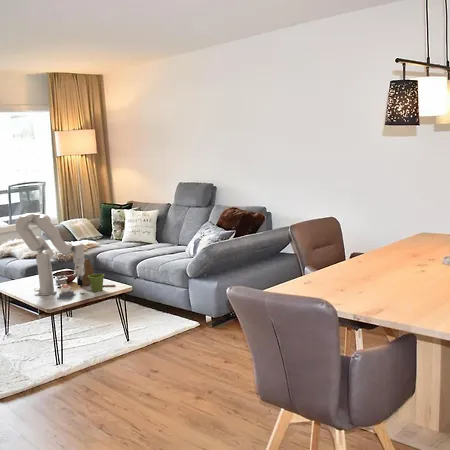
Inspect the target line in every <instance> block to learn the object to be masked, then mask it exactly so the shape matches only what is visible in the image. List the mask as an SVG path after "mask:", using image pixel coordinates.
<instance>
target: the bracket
mask: <svg viewBox="0 0 450 450" xmlns="http://www.w3.org/2000/svg"><path fill="white" fill-rule="evenodd" d="M109 287H113V288H115V287H116V284H103V288H109Z"/></svg>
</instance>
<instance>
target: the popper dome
mask: <svg viewBox="0 0 450 450" xmlns="http://www.w3.org/2000/svg"><path fill="white" fill-rule="evenodd" d="M71 288H72V287H71V286H70V285H69V284H67V283H66V284H63V285H62V287H60V290H61V292H62V293H69V292H70V291H71V290H72V289H71Z"/></svg>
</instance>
